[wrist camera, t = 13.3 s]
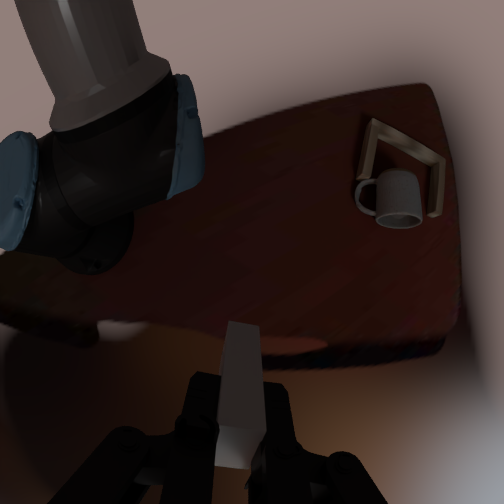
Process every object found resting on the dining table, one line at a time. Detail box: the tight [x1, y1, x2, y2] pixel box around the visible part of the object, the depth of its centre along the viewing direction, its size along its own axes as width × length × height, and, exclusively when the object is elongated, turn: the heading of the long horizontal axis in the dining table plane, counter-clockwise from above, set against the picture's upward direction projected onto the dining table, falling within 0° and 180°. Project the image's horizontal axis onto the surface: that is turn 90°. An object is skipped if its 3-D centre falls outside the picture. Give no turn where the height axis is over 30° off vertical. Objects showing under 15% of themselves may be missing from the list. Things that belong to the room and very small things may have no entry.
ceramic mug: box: [355, 168, 423, 228], centre depth 39 cm, size 11×8×8 cm
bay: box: [355, 118, 445, 218], centre depth 42 cm, size 17×12×3 cm
